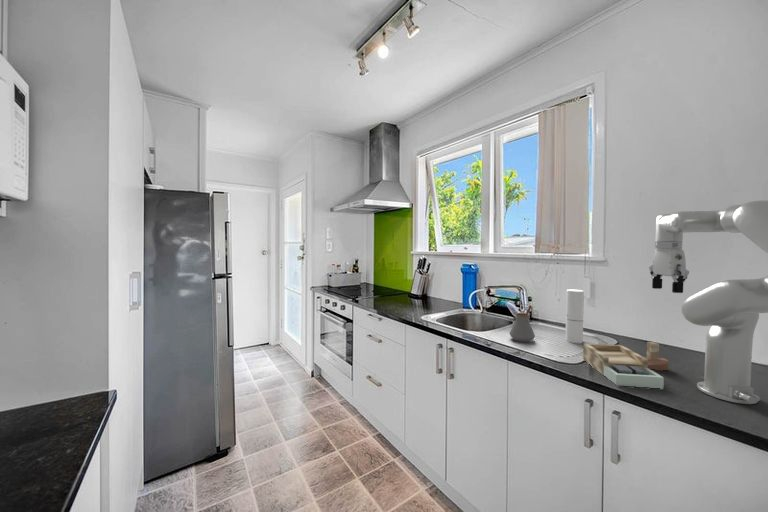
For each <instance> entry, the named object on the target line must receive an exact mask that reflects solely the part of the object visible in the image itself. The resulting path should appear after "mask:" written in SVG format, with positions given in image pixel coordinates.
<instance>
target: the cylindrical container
mask: <svg viewBox="0 0 768 512" xmlns="http://www.w3.org/2000/svg"><path fill="white" fill-rule="evenodd" d="M584 291H585V290H582V289H573V288H572V289H571V288H569V289H566V295H565V296H566V297H565V341H566V342H569V343H572V344H584V339H583V338H584V299H585V297H584V294H585V292H584Z"/></svg>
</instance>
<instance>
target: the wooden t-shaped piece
mask: <svg viewBox="0 0 768 512" xmlns="http://www.w3.org/2000/svg"><path fill="white" fill-rule="evenodd" d="M659 353H660V344H659V343H657V342H654V341H647V342H646V356H643V357H644V358H646V359H648V368H649V369H655V370H654V371H663V370H668V371H669V360H668V359H666V358H664V357H659V356H660V355H659Z"/></svg>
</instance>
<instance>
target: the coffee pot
mask: <svg viewBox="0 0 768 512" xmlns="http://www.w3.org/2000/svg"><path fill="white" fill-rule="evenodd" d="M531 309H534V306H532V305H529V306H528V308H527V309H526V312H525V313H524V312H523V313H522V312H516V313H515V316H516V318H515V321H514V323H513V325H512V327H511V328H510V332H509V335H510V337H511V338H512V339H513V340H514V341H516V342H519V343H530V342H532V341H533V340H534V339H535V337H536V334H535V331H534V330H533V327H532V326H531V323H530V320H529V318H530V314H529V313H530V311H531Z"/></svg>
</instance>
